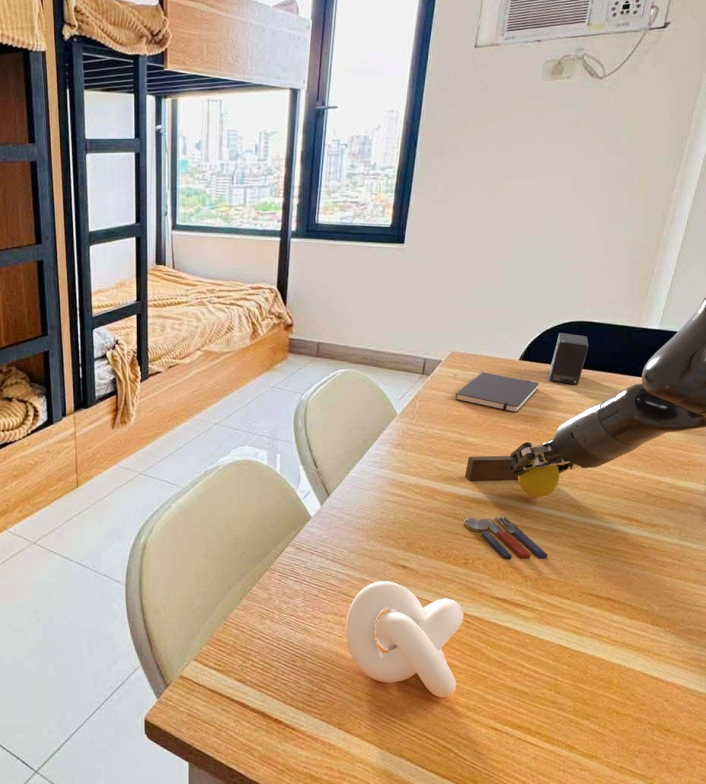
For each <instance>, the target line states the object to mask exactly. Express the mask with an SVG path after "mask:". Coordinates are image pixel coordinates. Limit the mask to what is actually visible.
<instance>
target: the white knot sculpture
mask: <svg viewBox="0 0 706 784" xmlns="http://www.w3.org/2000/svg"><path fill="white" fill-rule="evenodd" d="M386 610H390V611H388V612H386V613H383V612H384V611H386ZM381 613H383V614H382V615H381ZM380 615H381V616H380ZM379 616H380V617H379ZM464 616H465V613H464V611H463V608H462V606H461V605H460V604H459V603H458V602H457V601H455V600H454V599H451V598H441V599H437V600H435V601H432V602H431V603H429V604H427V605H426V606H424V607H423V605H422V603H421V602H420V600H419V599H418V598H417V596H416V595H415V594H414V593H413V592H411V590H409V589H408V588H407V587H404V586H403V585H400V584H398V583H396V582H393V581H389V580H388V581H387V580H385V581H384V580H381V581H375V582H371V583H370V584H367V586H365V587H364V588H362V589H361V590H360V591H359V592H358V593H357V595H356V596H355V597H354V599H353V600H352V602H351V604H350V606H349V608H348V612H347V617H346V621H345V638H346V645H347V648H348V651H349V654H350V656H351V658H352V660H353V662H354V663H355V664H356V665H357V667H358V668H359V670H360V671H361V672H362V673H364V674H365V675H366V676H367V677H369V678H371V679H372V680H375V681H377V682H380V683H387V684H388V683H389V684H390V683H396V682H397V683H398V682H402V681H405V680H407V679H410V678H411V677H413V676H415V675H416V674H417V675H418V677H419V678H420V680H421V682H422V683H423V685H424V686H425V688H426V689H427V690H428V691H429V692H430V693H431V694H432V695H433V696H436V697H439V698H442V699H443V698H446V697H451V696H452V695H453V693H454V692H455V691H456V689H457V681H456V678H455V676H454V674H453V672H452V670H451V668H450V666H449V665H448V661H447V659H446V658H445V655H444V652H443V650H442V648H443V647H444V645H446V643H447V642H448V641H450V639H451V638H452V637H453V636H454V635H455V634H456V632H457V631H458V630H459V629H460V627H461V626H462V624H463V622H464ZM378 618H379V619H378ZM377 644H378V645H379V647H381V649H382V650H383V651H385V652H383V651H381V650H380V649H379V647H378V645H377Z"/></svg>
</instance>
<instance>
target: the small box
mask: <svg viewBox="0 0 706 784" xmlns="http://www.w3.org/2000/svg"><path fill="white" fill-rule="evenodd" d="M588 350H589V342H588V336H585V335H578V334H570V333H565V332H559V333H558V336H557V341H556V345H555V348H554V352H553V356H552V360H551V363H550V367H549V371H548V381H549V382H556V383H563V384H571V385H579V382H580V379H581V376H582V372H583V368H584V364H585V361H586V358H587V354H588Z"/></svg>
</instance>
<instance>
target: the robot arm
mask: <svg viewBox="0 0 706 784" xmlns="http://www.w3.org/2000/svg"><path fill="white" fill-rule="evenodd" d="M701 428H706V295H705V296H704V298H703V299H702V302H701V304H700V305H699V307H698V308H697V309H696V311H695V312H694V313H693V314H692V316H691V317H690V318H689V319H688V320H687V322H685V324H683V326H682V327H681V328H680V329H679V330H678V331H677V332H676V333H675V334H674V335H673V336H672V337H671V338H670V339H669V340H668V341H667V342H666V343H664V345H662V346H661V347H660V348H659V349H658V350H657V351H656V352H655V353H654V354H653V355H652V356H651V357H650V358H649V359H648V361H647V362H646V363H645V365H644V367H643V369H642V373H641V383H635V384H633V385H630V386H627V387H626V388H624V389H622V390H620V391H619V392H617V393H616V394H614V395H612V396H611V397H609V398H607V399H605V400H602V401H600V402H597V403H596V404H594V405H592V406H590V407H587V408H586V409H584V410H582V411H581V412H580V413H578V414H576V415H574V416H573V417H571V418H570V419H568V420H566V421H564V422H562V423H561V424H560V425H559V426H558V428H557V429H556V432H555V435H554V437H553V438H551V439H548V440H547V441H545V442H544V443H541V444H538V445H536V446H533V445H532V442H529V441H528V442H524V443H522V444H520V445H519V446H518V447H517V448H516V449H515V450H514V451H513V452H511V453H510V454H509V456H511V458H512V461H513V463H511V464H510V465H509V468H510V472H511V474H512V475H513V476H520V475H522V474H524V473H526V472H528V471H529V470H531V469H535V468H542V469H545V468H548V467H552V466H555V465H557V466H558V469H559V475H560V474H562V473H564V472H565V471H569V470H570V471H574V470H575V469H577V468H581V469H593V468H597V467H600V466H602V465H605V464H607V463H609V462H611V461H613V460H616V459H618V458H620V457H622V456H624V455H626V454H629V453H631V452H633V451H635V450H636V449H638V448H639V447H641V446H642V445H643V444H646V443H648V442H650V441H653V440H655V439H657V438H659V437H661V436H663V435H665V434H668V433H678V432H685V431H690V430H695V429H696V430H697V429H701ZM542 454H544V458H545V460H546V461H547V462H546V463H545V462H544V459H543V456H542ZM532 461H535V462H534V463H533V464H531V462H532Z"/></svg>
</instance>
